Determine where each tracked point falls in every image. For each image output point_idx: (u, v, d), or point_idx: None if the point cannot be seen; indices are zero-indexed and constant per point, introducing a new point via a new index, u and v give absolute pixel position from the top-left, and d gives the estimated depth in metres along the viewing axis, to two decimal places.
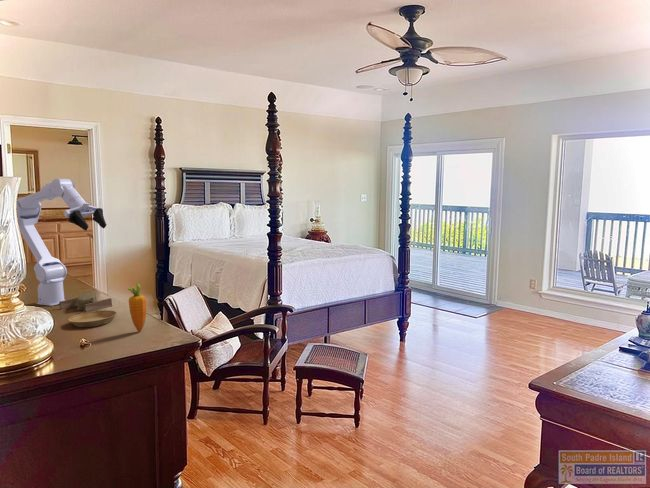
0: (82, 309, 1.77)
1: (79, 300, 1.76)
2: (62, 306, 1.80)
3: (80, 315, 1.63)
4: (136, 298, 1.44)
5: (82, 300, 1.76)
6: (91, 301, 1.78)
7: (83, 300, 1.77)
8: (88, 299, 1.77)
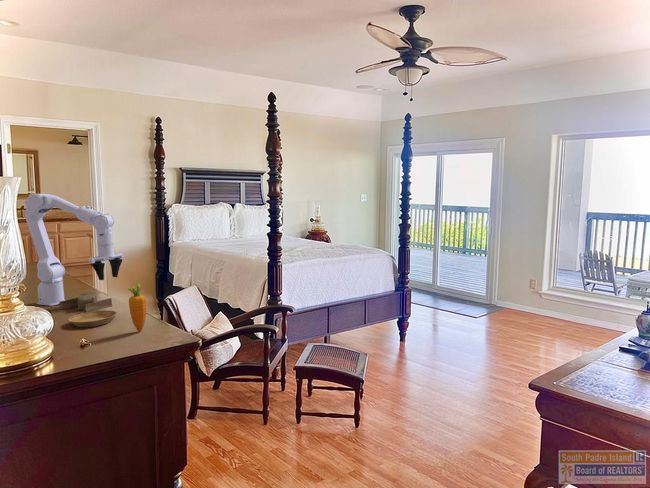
0: (83, 309, 1.77)
1: (80, 300, 1.76)
2: (62, 306, 1.80)
3: (80, 315, 1.63)
4: (136, 298, 1.44)
5: (83, 300, 1.76)
6: (92, 301, 1.78)
7: (84, 300, 1.77)
8: (89, 299, 1.77)
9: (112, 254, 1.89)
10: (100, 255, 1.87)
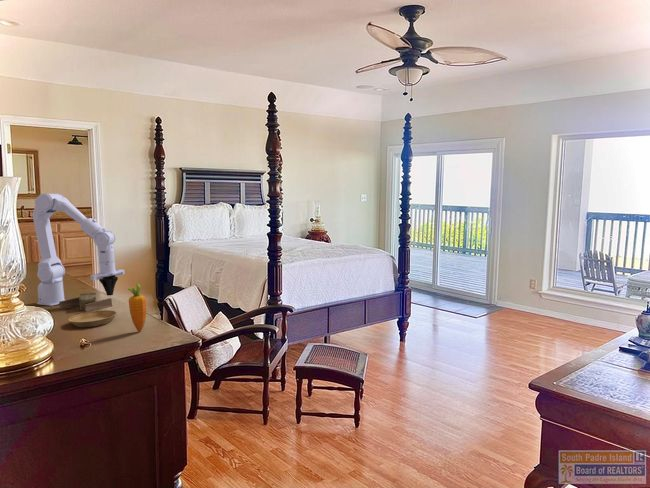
0: None
1: (82, 300, 1.76)
2: (62, 306, 1.80)
3: (80, 315, 1.63)
4: (136, 298, 1.44)
5: (85, 300, 1.77)
6: (94, 301, 1.78)
7: (86, 300, 1.77)
8: (91, 299, 1.78)
9: (113, 271, 1.89)
10: (102, 272, 1.87)
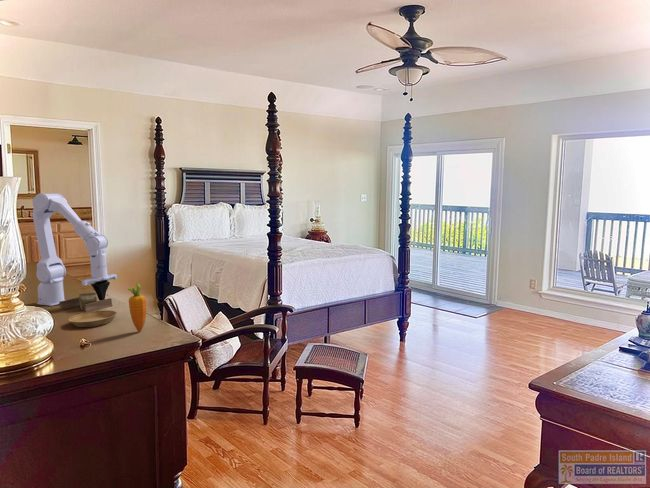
0: None
1: (83, 300, 1.76)
2: (62, 306, 1.80)
3: (80, 315, 1.63)
4: (136, 298, 1.44)
5: (86, 299, 1.77)
6: (95, 300, 1.78)
7: (87, 299, 1.77)
8: (92, 298, 1.78)
9: (105, 275, 1.86)
10: (93, 277, 1.84)
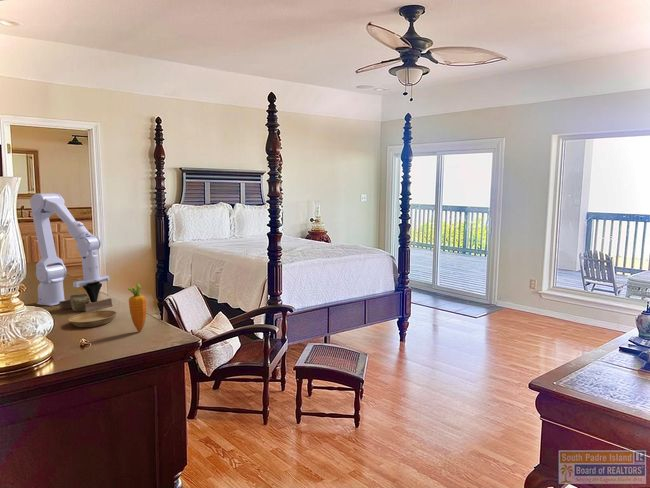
0: (78, 310, 1.75)
1: (75, 301, 1.74)
2: (62, 306, 1.80)
3: (80, 315, 1.63)
4: (136, 298, 1.44)
5: (78, 301, 1.75)
6: (87, 301, 1.76)
7: (80, 301, 1.75)
8: (84, 299, 1.76)
9: (98, 277, 1.83)
10: (85, 278, 1.81)
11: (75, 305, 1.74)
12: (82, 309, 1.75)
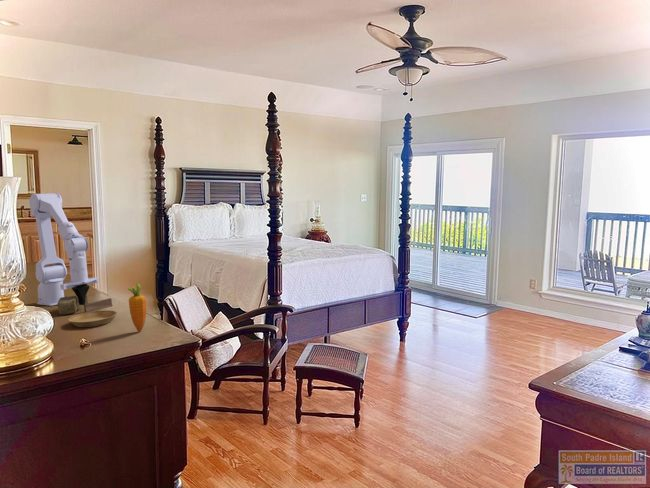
0: (63, 313, 1.71)
1: (60, 304, 1.70)
2: None
3: (80, 315, 1.63)
4: (136, 298, 1.44)
5: (63, 303, 1.70)
6: (72, 304, 1.72)
7: (64, 303, 1.71)
8: (69, 302, 1.71)
9: (86, 279, 1.78)
10: (73, 280, 1.76)
11: (60, 308, 1.70)
12: (67, 312, 1.71)
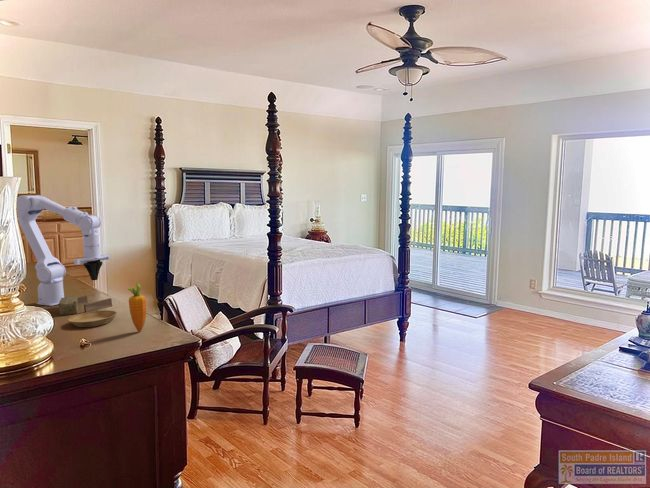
0: (64, 313, 1.71)
1: (61, 304, 1.70)
2: None
3: (80, 315, 1.63)
4: (136, 298, 1.44)
5: (64, 304, 1.71)
6: (74, 305, 1.72)
7: (65, 304, 1.71)
8: (71, 303, 1.72)
9: (98, 255, 1.87)
10: (86, 256, 1.85)
11: (61, 308, 1.70)
12: (68, 313, 1.71)
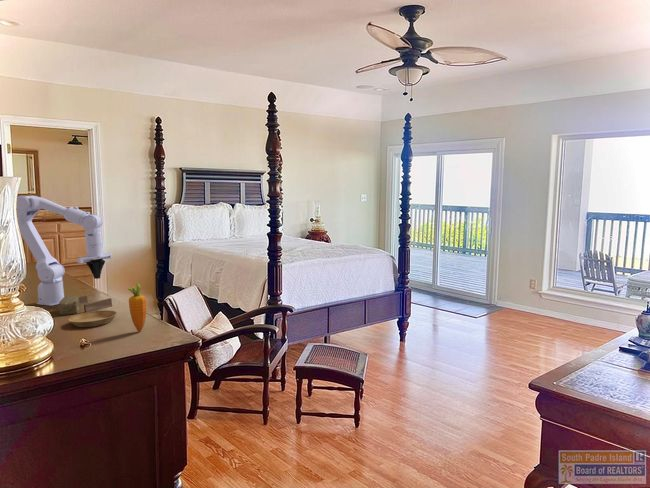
0: (64, 313, 1.71)
1: (61, 304, 1.70)
2: None
3: (80, 315, 1.63)
4: (136, 298, 1.44)
5: (64, 304, 1.71)
6: (74, 305, 1.72)
7: (65, 304, 1.71)
8: (71, 303, 1.71)
9: (101, 254, 1.90)
10: (89, 255, 1.88)
11: (61, 308, 1.70)
12: (68, 313, 1.71)
